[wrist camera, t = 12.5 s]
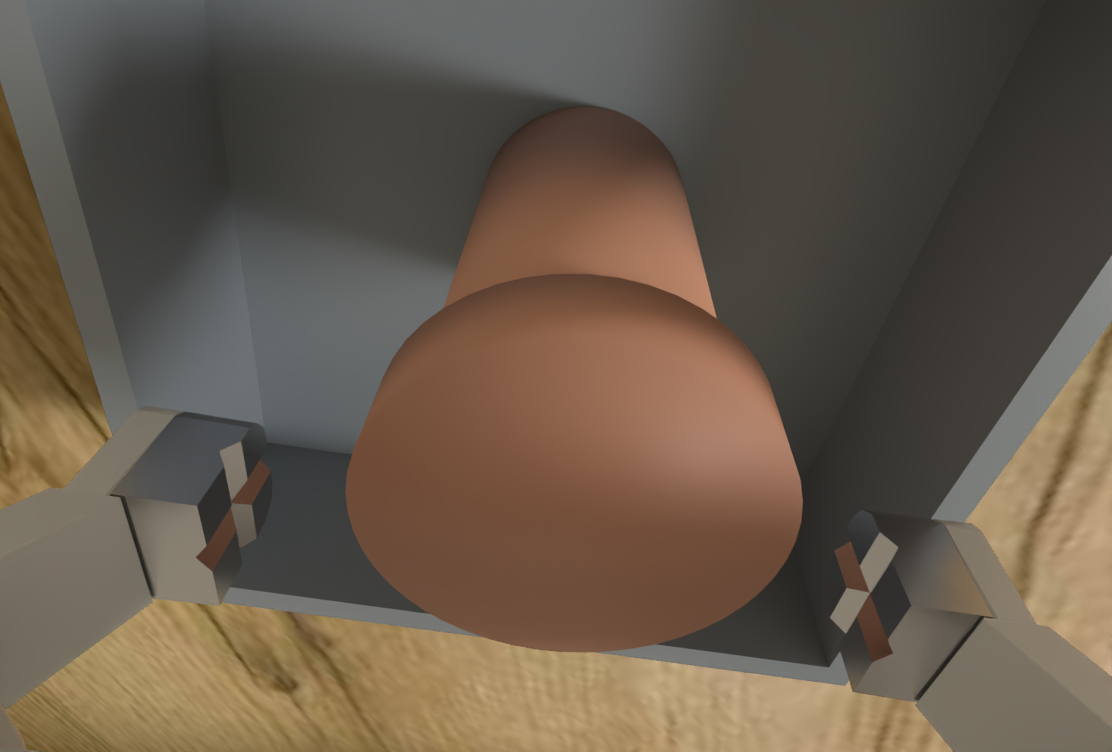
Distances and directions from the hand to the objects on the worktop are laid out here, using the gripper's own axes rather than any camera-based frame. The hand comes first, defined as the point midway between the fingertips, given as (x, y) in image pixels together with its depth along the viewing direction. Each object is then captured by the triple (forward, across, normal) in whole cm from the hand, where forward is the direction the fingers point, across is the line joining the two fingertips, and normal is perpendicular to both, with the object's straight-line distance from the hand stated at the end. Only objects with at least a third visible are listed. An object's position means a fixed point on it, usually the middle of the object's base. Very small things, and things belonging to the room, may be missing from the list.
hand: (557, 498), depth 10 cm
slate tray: (+7, 0, -1) cm, 7 cm away
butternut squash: (+6, 0, -2) cm, 7 cm away
